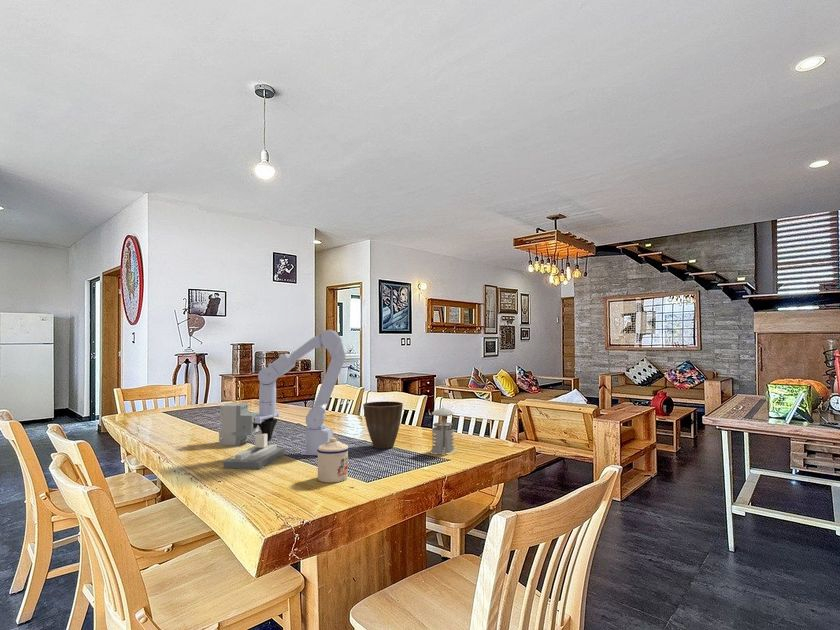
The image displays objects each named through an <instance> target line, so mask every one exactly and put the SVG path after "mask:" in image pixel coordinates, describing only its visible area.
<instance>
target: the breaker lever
mask: <svg viewBox="0 0 840 630" xmlns="http://www.w3.org/2000/svg"><path fill="white" fill-rule="evenodd" d="M254 439H255V441H254V446H255V447H258V449H256V452H257V451H259V450H261V449H263V448H265V447H267V446H268V441H267V434H262V432H261V433H257V434H256V433H255V436H254Z"/></svg>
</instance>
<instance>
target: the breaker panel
mask: <svg viewBox="0 0 840 630" xmlns="http://www.w3.org/2000/svg"><path fill="white" fill-rule="evenodd" d="M256 449H258V447H255V445H254V446H252V447H250V448H248V449H245V450H243V451H241V452H239V453H237V454H235V455H234V456H233V457H230V458H228V459H226V460H223V469H244V470H246V469H247V470H249V469H250V470H260V469H262V468H263V466H264V467H266V466H267V465H269V464H271V463H272V461H273V462H274V461H276V460H278V459H279V457H280V458H281V457H283V456H285V455H286V453H287V452H288V451H287V449H288V448H287V447H278V444H270V445H267V446H266V447H265V448H263V449H261V450H259V451H257V452H256ZM284 454H285V455H284ZM287 454H288V453H287ZM277 458H278V459H277ZM265 465H266V466H265Z"/></svg>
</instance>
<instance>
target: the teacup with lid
mask: <svg viewBox="0 0 840 630" xmlns="http://www.w3.org/2000/svg"><path fill="white" fill-rule="evenodd" d="M349 450H350V448H349V446H348V444H346V443H343V442H341V441H339V440H337V437H334V436H333V438H330V441H328V442H326V443H325V444H323V445H320V446H319V447H318V448H317V451H318V455H317V480H318V481H319V482H321V483H327V484H329V483H330V484H331V483H334V482H335V483H339V482H340V481H341V482H344V481H345V480H348V477H349V476H348V475H349V474H348V473H349V472H348V471H349ZM343 480H344V481H343ZM341 482H340V483H341Z"/></svg>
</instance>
